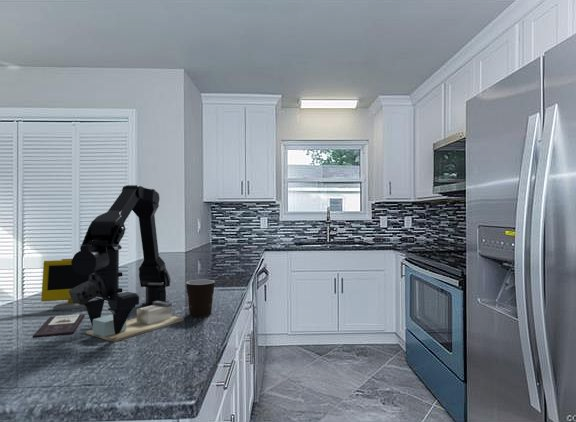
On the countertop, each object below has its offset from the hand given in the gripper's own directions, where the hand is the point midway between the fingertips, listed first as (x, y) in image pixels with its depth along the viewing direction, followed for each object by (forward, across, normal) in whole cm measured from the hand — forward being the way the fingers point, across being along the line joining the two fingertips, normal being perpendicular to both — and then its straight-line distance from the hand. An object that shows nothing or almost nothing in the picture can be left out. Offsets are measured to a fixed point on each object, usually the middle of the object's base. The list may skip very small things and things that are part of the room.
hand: (106, 330), depth 96 cm
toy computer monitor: (+2, -36, +14) cm, 39 cm away
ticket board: (+1, 0, +9) cm, 9 cm away
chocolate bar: (+2, -18, -1) cm, 19 cm away
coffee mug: (+2, +5, +29) cm, 29 cm away
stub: (+1, 0, +1) cm, 2 cm away
